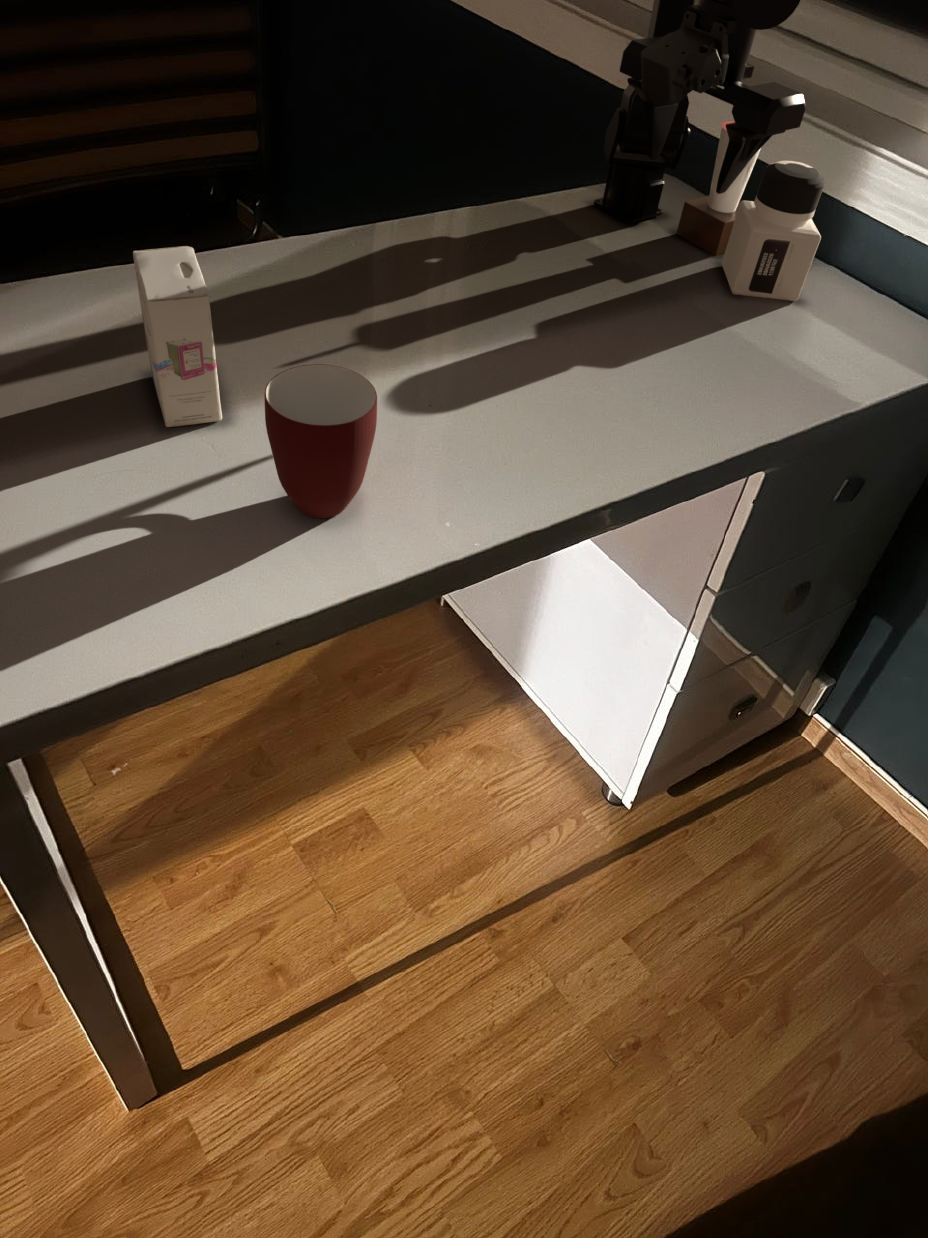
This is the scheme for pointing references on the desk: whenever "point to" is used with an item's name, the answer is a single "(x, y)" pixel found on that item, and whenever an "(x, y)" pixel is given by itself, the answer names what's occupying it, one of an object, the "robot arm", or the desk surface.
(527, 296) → the desk surface
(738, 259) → the container
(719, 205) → the cup
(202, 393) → the ink box
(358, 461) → the mug
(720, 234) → the walnut block
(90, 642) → the desk surface
